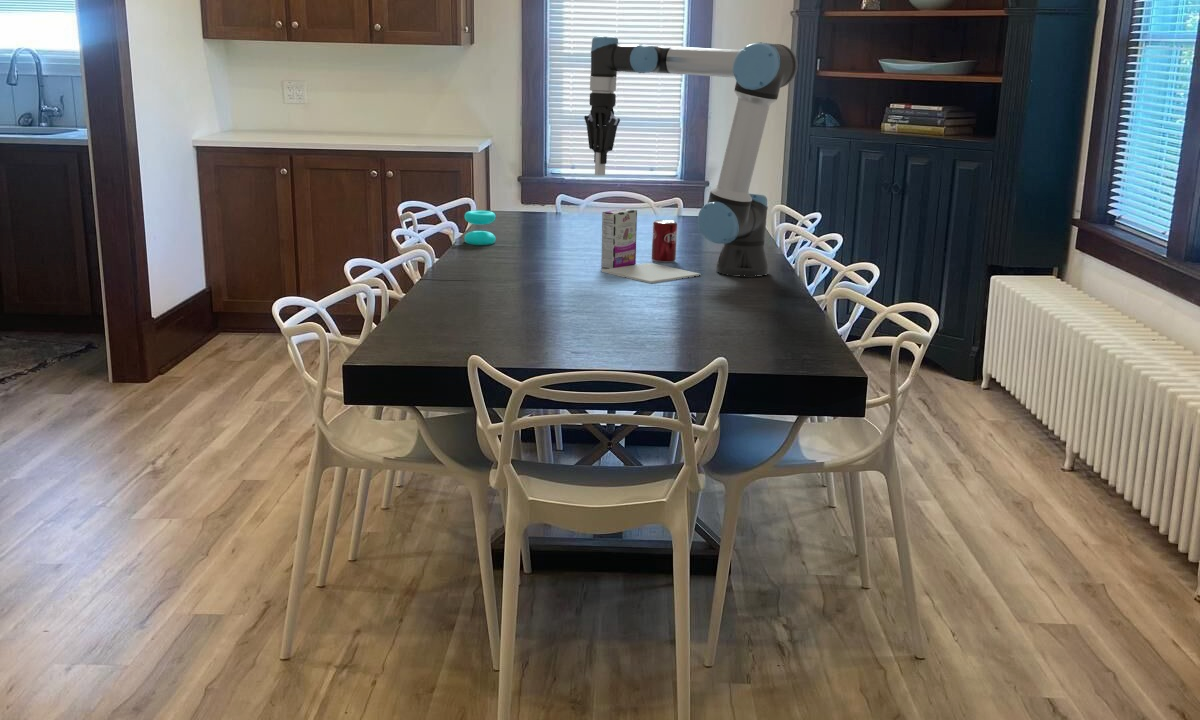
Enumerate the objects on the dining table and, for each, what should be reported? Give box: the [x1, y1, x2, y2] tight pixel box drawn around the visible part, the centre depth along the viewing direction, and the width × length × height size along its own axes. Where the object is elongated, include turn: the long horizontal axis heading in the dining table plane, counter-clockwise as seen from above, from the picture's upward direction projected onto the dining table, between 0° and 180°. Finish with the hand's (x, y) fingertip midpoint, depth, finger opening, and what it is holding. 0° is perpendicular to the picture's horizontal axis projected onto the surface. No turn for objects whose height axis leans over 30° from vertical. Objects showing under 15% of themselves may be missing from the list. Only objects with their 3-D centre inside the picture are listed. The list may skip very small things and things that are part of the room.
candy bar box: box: [600, 208, 638, 269], centre depth 326 cm, size 11×5×16 cm, turn 143°
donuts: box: [464, 210, 497, 246], centre depth 359 cm, size 10×10×10 cm
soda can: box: [651, 219, 678, 264], centre depth 338 cm, size 7×7×12 cm
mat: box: [600, 262, 702, 284], centre depth 319 cm, size 20×20×1 cm
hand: (599, 174), depth 328 cm, fingers closed
